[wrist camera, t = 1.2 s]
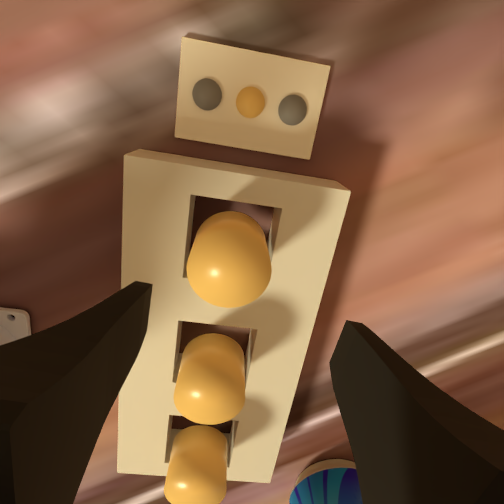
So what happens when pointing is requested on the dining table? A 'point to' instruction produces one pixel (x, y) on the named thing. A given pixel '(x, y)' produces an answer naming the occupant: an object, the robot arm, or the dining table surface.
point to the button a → (197, 467)
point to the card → (248, 99)
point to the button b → (211, 380)
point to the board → (197, 310)
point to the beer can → (328, 484)
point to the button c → (229, 260)
